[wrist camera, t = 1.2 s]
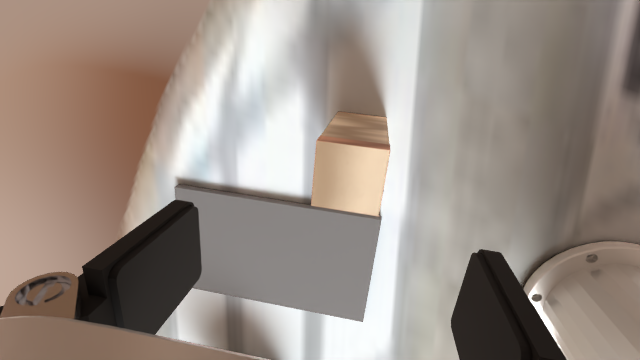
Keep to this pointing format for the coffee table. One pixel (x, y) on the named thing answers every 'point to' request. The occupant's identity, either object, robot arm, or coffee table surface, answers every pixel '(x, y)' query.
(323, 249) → the mat
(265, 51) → the coffee table surface
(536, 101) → the coffee table surface
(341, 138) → the maple block
